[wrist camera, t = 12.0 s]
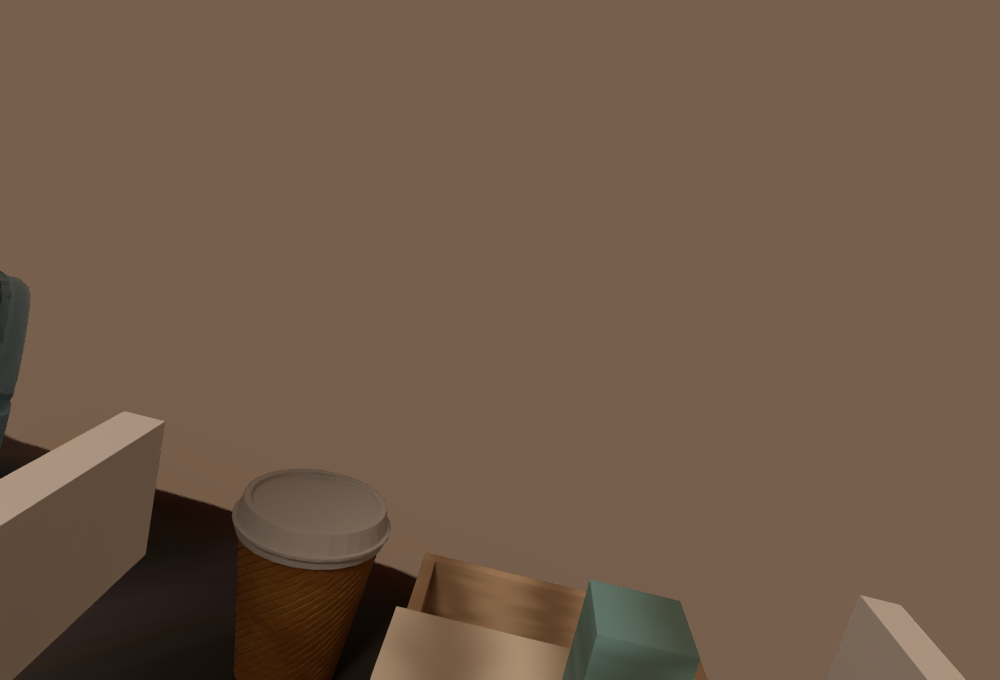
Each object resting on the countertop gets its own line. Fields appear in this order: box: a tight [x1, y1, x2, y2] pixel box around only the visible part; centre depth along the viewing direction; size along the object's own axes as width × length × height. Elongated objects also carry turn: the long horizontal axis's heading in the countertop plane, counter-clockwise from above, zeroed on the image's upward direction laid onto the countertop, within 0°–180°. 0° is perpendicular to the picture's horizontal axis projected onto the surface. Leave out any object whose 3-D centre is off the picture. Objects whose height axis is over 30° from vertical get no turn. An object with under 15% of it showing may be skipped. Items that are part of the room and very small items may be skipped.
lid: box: [370, 580, 700, 680], centre depth 31 cm, size 19×15×11 cm
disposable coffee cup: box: [232, 469, 391, 680], centre depth 45 cm, size 10×10×12 cm
